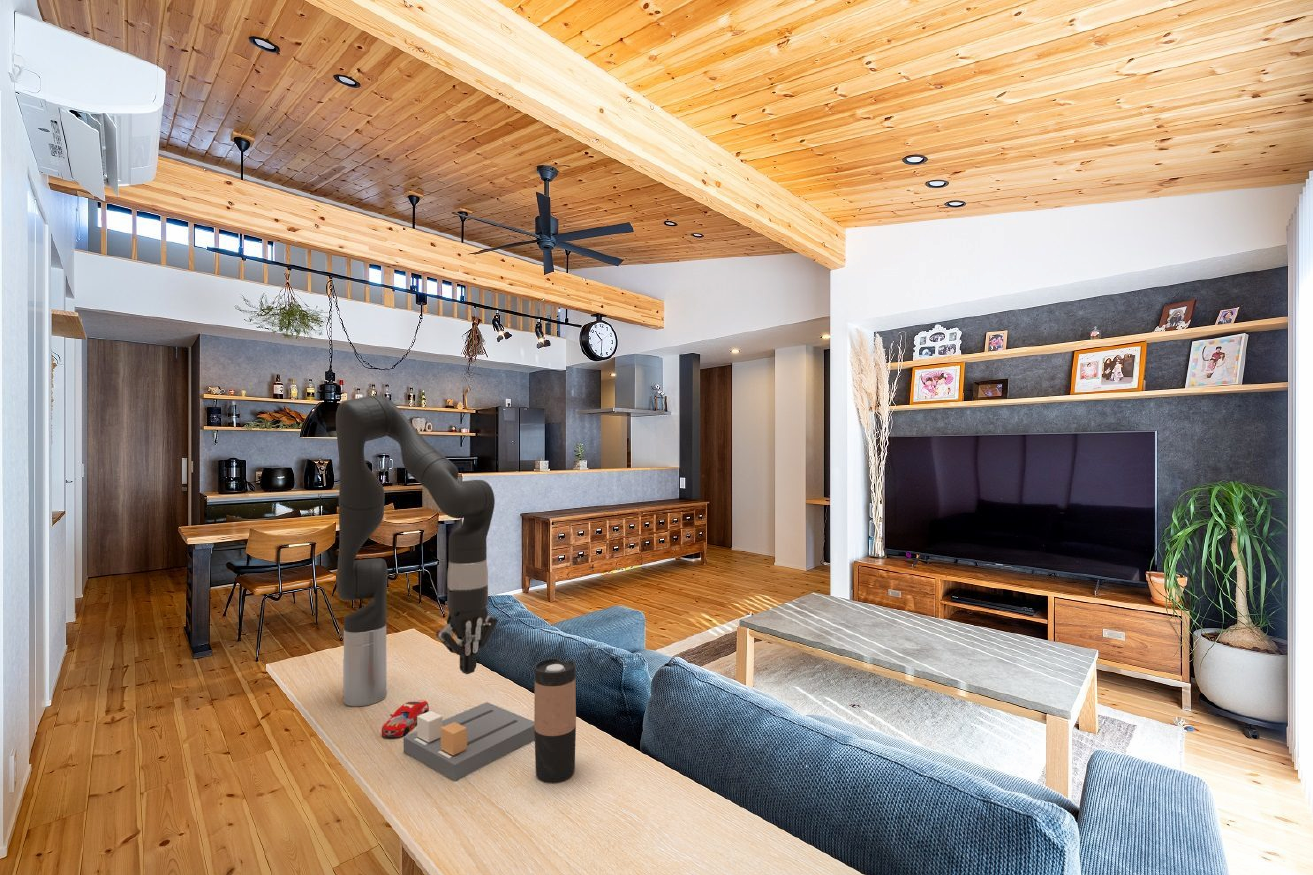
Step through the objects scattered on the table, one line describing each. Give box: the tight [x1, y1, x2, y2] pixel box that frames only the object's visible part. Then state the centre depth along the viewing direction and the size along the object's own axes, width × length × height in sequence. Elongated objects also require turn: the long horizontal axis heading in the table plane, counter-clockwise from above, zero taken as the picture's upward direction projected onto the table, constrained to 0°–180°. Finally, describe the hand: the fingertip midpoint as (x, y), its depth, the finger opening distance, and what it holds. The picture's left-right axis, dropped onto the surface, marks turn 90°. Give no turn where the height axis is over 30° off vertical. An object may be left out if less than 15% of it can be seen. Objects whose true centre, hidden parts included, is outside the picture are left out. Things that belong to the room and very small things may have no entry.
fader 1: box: [416, 710, 443, 742], centre depth 119 cm, size 4×3×4 cm
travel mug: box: [533, 657, 577, 784], centre depth 112 cm, size 8×8×20 cm
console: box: [402, 701, 535, 782], centre depth 123 cm, size 17×20×3 cm
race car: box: [380, 699, 430, 739], centre depth 131 cm, size 13×5×4 cm, turn 171°
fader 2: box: [441, 722, 467, 755], centre depth 115 cm, size 4×3×4 cm
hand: (467, 672), depth 117 cm, fingers closed
